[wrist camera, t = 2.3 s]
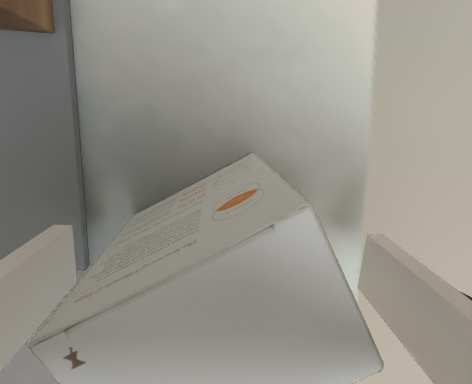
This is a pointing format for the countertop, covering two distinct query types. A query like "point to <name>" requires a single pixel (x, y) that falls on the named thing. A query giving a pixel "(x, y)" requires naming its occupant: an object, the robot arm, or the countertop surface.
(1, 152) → the mat
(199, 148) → the countertop surface
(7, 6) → the rail
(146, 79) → the countertop surface
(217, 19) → the countertop surface
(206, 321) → the small box
